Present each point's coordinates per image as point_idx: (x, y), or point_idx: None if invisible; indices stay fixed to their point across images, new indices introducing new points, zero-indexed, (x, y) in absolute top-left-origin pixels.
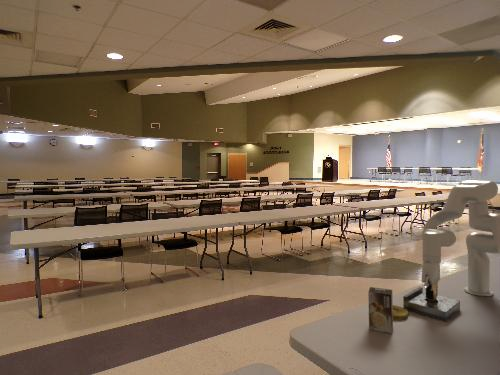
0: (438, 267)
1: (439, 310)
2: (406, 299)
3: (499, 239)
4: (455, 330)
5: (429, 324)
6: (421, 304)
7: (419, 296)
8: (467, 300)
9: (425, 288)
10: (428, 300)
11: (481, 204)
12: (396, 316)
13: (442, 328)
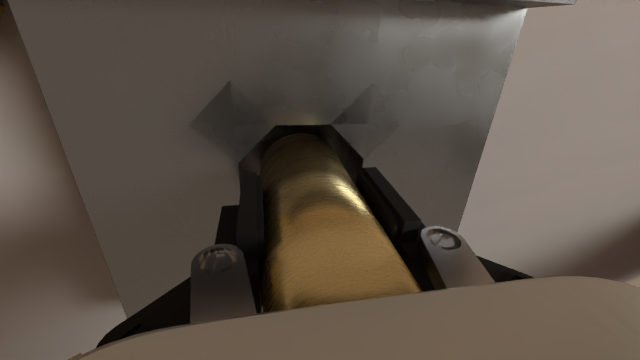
0: None
1: (124, 307)
2: None
3: None
4: (99, 339)
5: (13, 241)
6: (96, 166)
7: (334, 45)
8: (573, 223)
9: (191, 265)
10: (263, 175)
11: None
12: None
13: (48, 302)
